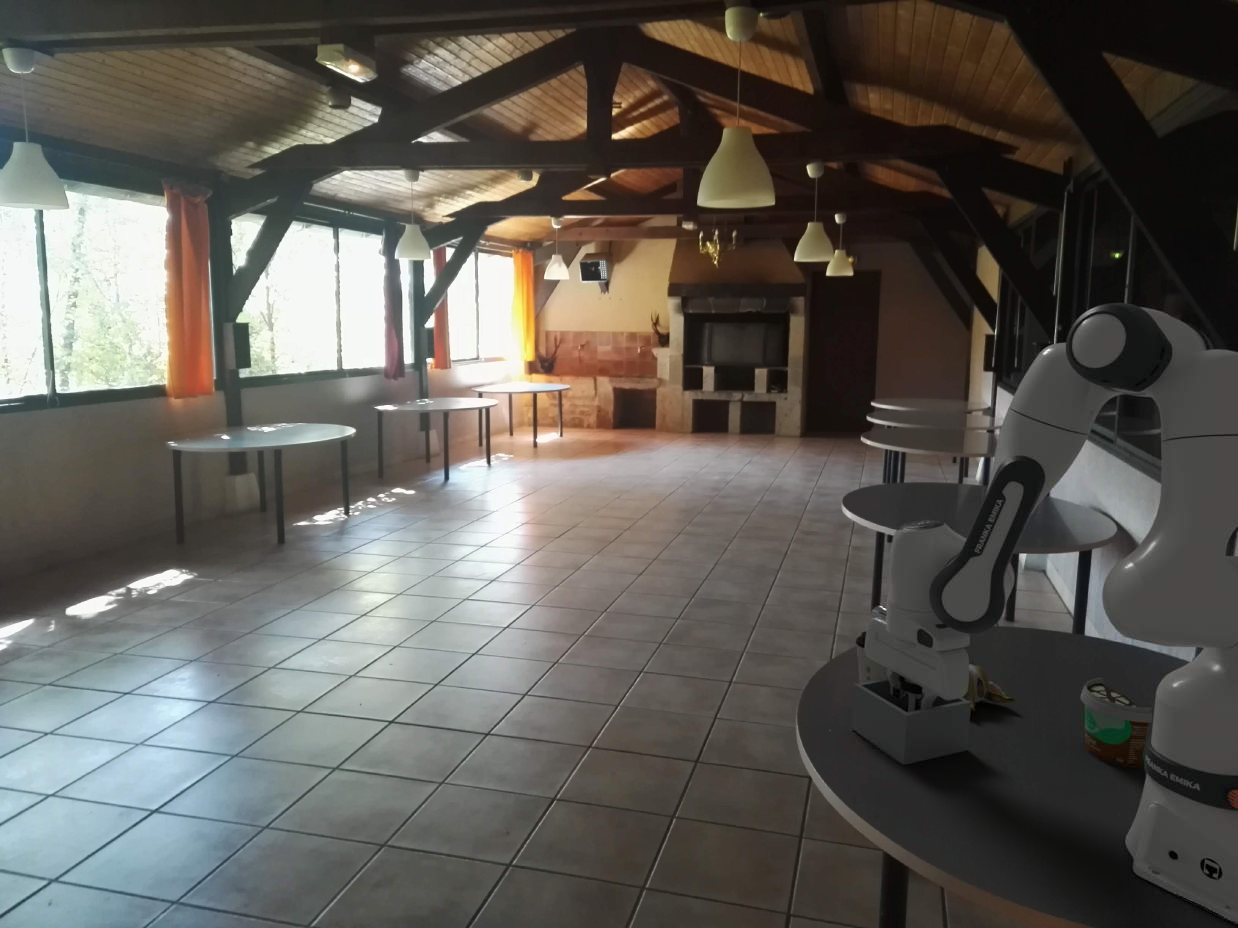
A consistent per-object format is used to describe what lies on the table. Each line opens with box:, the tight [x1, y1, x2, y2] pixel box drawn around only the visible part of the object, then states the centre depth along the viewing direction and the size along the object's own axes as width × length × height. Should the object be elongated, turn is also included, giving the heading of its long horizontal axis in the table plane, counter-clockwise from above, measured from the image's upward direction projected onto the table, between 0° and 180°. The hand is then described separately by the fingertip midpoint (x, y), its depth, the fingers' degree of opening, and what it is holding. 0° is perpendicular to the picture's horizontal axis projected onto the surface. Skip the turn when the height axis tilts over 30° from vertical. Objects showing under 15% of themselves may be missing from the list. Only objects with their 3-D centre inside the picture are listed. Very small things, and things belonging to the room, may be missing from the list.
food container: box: [1080, 677, 1153, 769], centre depth 136 cm, size 12×6×10 cm, turn 5°
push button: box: [899, 675, 925, 712], centre depth 140 cm, size 7×5×10 cm
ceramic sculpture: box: [962, 660, 1016, 712], centre depth 156 cm, size 11×9×15 cm
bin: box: [851, 678, 971, 766], centre depth 140 cm, size 13×13×8 cm
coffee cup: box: [855, 630, 888, 683], centre depth 161 cm, size 7×7×10 cm
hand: (910, 703), depth 140 cm, fingers open, 5 cm apart
